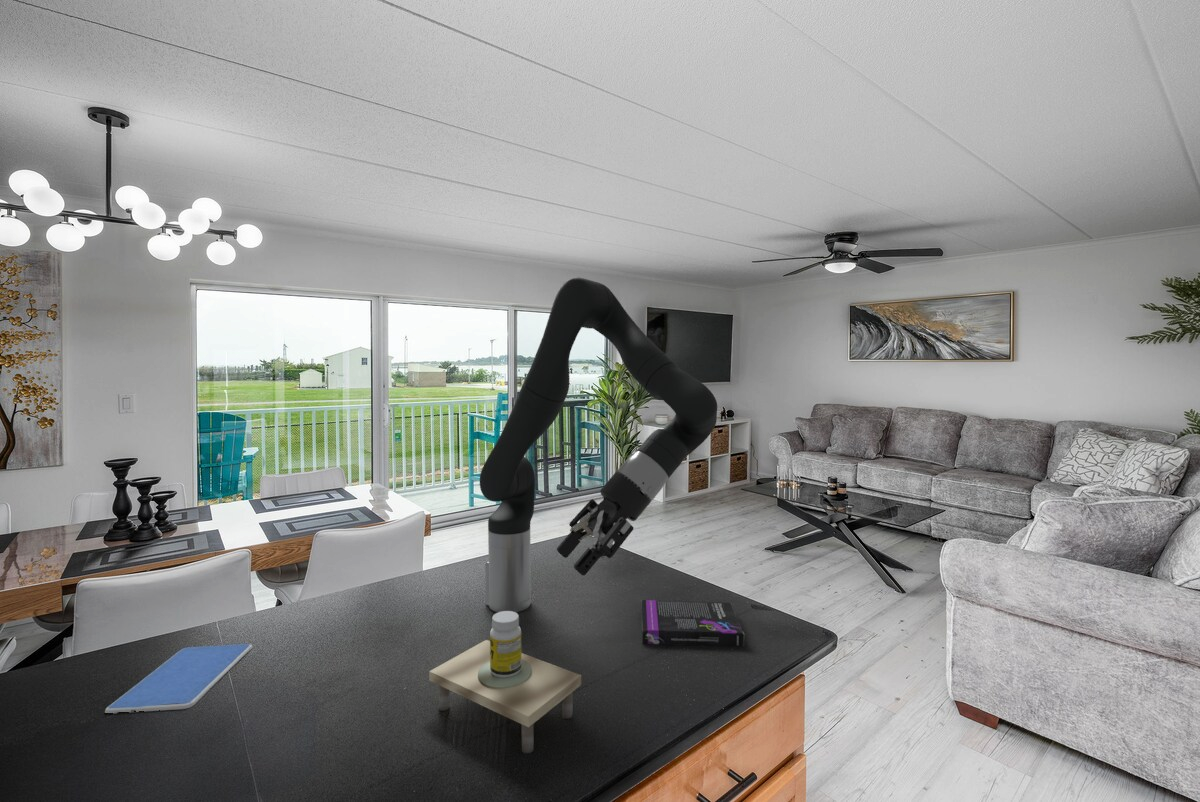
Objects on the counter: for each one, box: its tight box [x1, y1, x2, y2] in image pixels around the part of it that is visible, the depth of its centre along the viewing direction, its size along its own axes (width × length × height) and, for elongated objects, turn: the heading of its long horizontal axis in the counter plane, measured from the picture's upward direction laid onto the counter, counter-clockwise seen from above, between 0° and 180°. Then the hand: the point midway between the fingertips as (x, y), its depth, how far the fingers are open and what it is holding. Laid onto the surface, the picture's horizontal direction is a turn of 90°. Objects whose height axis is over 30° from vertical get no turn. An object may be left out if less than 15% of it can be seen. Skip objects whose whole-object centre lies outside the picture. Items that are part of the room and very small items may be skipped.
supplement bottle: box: [489, 611, 522, 678], centre depth 83 cm, size 5×5×8 cm
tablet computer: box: [104, 643, 253, 714], centre depth 93 cm, size 19×13×1 cm, turn 6°
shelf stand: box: [428, 639, 582, 754], centre depth 84 cm, size 20×12×6 cm, turn 56°
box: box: [640, 599, 746, 647], centre depth 111 cm, size 14×4×20 cm
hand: (569, 562), depth 87 cm, fingers open, 8 cm apart
